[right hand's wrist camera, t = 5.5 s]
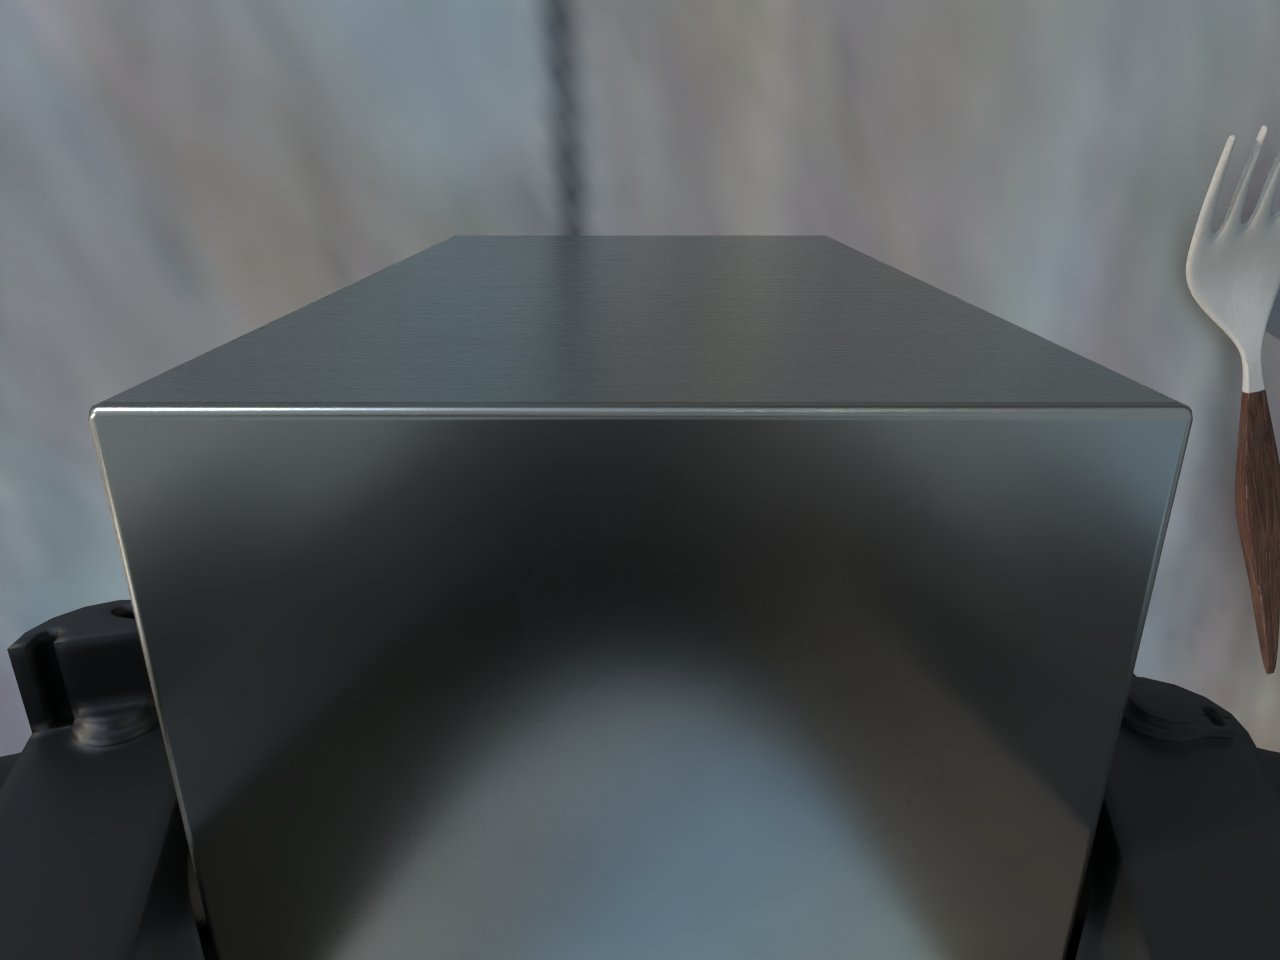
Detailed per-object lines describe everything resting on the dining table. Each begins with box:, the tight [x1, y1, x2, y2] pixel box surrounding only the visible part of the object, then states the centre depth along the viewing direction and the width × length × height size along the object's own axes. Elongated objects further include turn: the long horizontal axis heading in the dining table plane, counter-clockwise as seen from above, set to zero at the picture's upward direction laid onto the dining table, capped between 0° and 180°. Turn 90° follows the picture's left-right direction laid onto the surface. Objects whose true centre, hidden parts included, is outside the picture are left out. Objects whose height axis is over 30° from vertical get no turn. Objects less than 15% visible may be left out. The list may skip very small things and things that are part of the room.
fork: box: [1186, 125, 1280, 674], centre depth 23 cm, size 3×16×2 cm, turn 17°
